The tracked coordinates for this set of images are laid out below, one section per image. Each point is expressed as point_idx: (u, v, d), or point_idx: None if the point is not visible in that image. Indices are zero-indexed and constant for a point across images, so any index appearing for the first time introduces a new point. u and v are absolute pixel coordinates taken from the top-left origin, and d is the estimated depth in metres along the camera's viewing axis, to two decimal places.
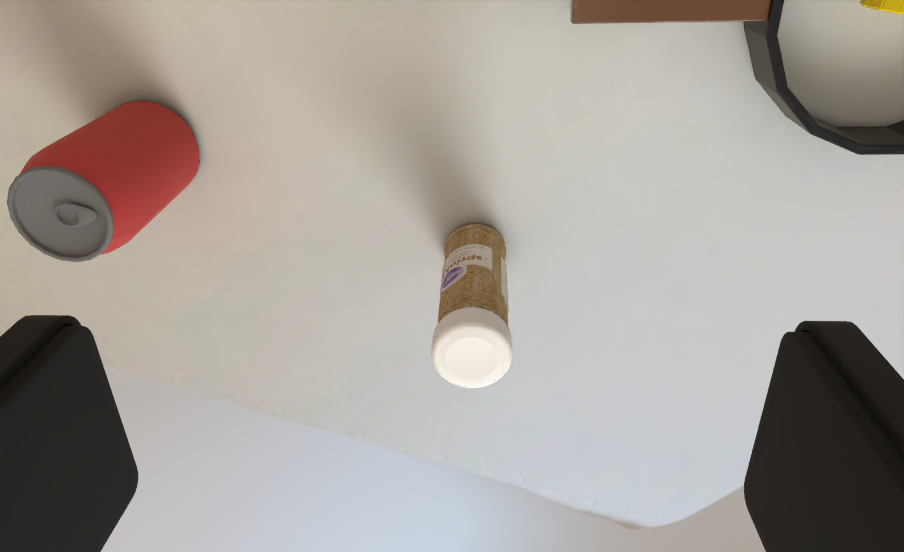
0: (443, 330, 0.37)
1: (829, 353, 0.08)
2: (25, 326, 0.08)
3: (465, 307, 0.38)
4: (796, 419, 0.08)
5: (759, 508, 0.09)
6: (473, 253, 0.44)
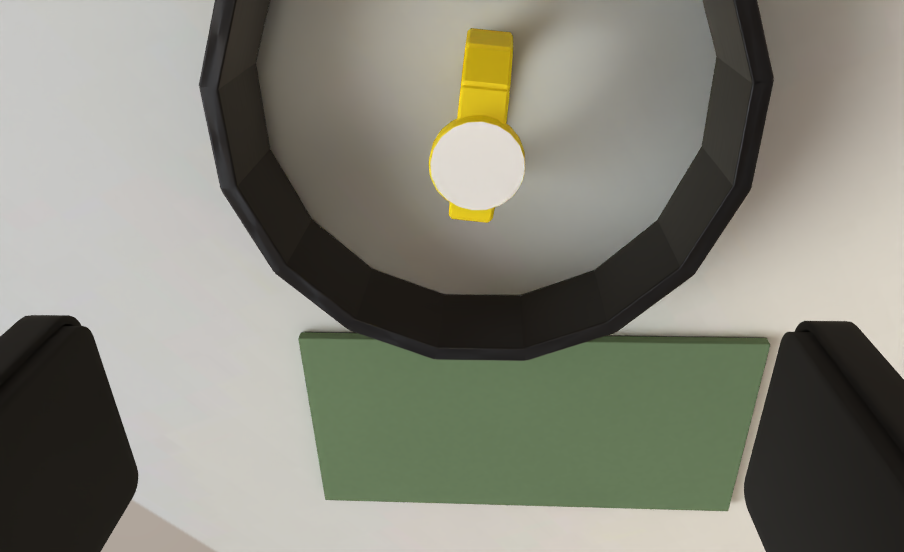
0: None
1: (829, 353, 0.08)
2: (25, 326, 0.08)
3: None
4: (796, 419, 0.08)
5: (760, 507, 0.09)
6: None
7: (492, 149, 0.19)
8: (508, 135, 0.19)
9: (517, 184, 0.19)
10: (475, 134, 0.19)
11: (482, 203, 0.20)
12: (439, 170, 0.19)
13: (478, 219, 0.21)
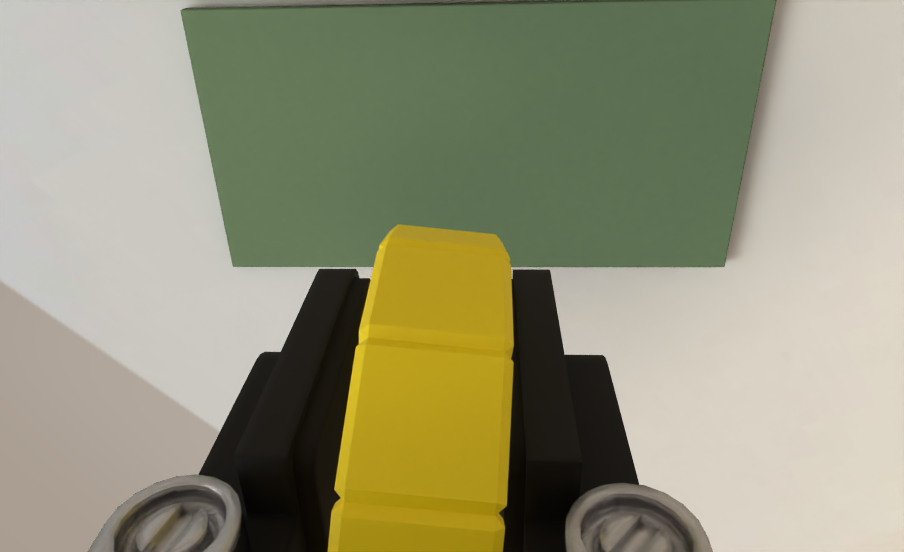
0: None
1: (514, 293, 0.09)
2: (326, 277, 0.09)
3: None
4: None
5: None
6: None
7: None
8: None
9: None
10: None
11: None
12: None
13: None
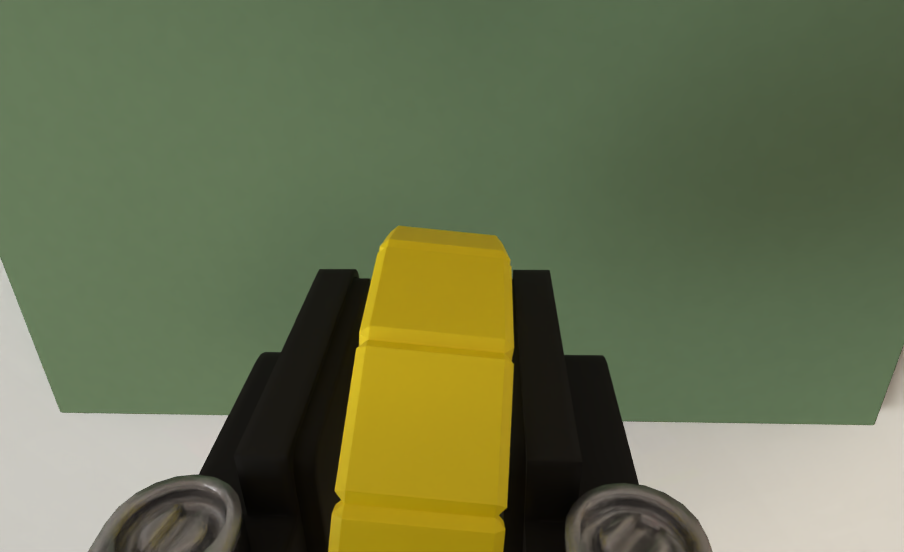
0: None
1: (514, 293, 0.09)
2: (327, 277, 0.09)
3: None
4: None
5: None
6: None
7: None
8: None
9: None
10: None
11: None
12: None
13: None
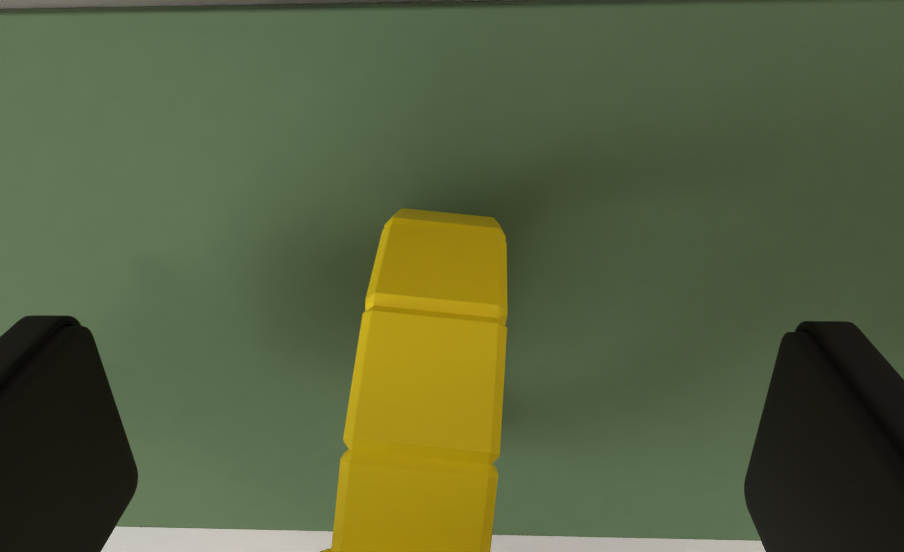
0: None
1: (829, 353, 0.08)
2: (25, 326, 0.08)
3: None
4: (796, 419, 0.08)
5: (760, 507, 0.09)
6: None
7: None
8: None
9: None
10: None
11: None
12: None
13: None
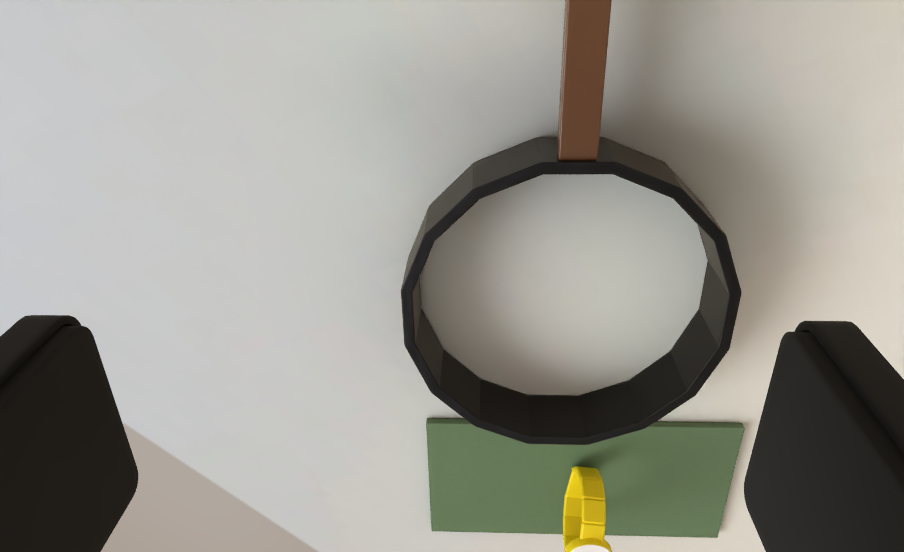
0: None
1: (829, 353, 0.08)
2: (25, 326, 0.08)
3: None
4: (796, 419, 0.08)
5: (759, 508, 0.09)
6: None
7: None
8: (605, 549, 0.39)
9: None
10: (590, 549, 0.39)
11: None
12: None
13: None
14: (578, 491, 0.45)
